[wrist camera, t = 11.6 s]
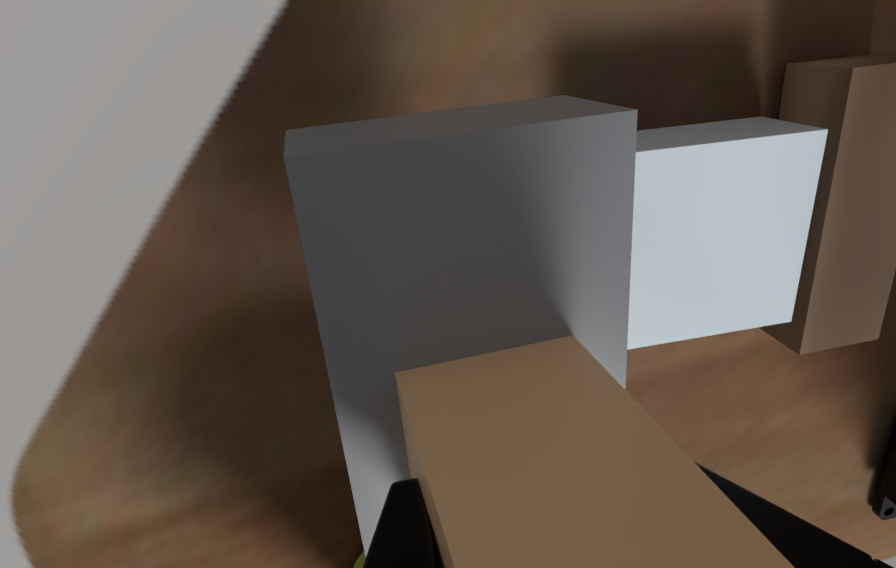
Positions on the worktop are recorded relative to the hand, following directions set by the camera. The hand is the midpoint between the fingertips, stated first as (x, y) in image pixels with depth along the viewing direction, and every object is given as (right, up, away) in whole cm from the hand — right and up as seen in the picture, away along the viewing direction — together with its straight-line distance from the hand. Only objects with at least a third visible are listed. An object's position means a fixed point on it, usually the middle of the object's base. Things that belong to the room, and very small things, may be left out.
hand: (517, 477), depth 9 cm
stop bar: (+11, +6, +11) cm, 17 cm away
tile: (+6, +5, +10) cm, 13 cm away
